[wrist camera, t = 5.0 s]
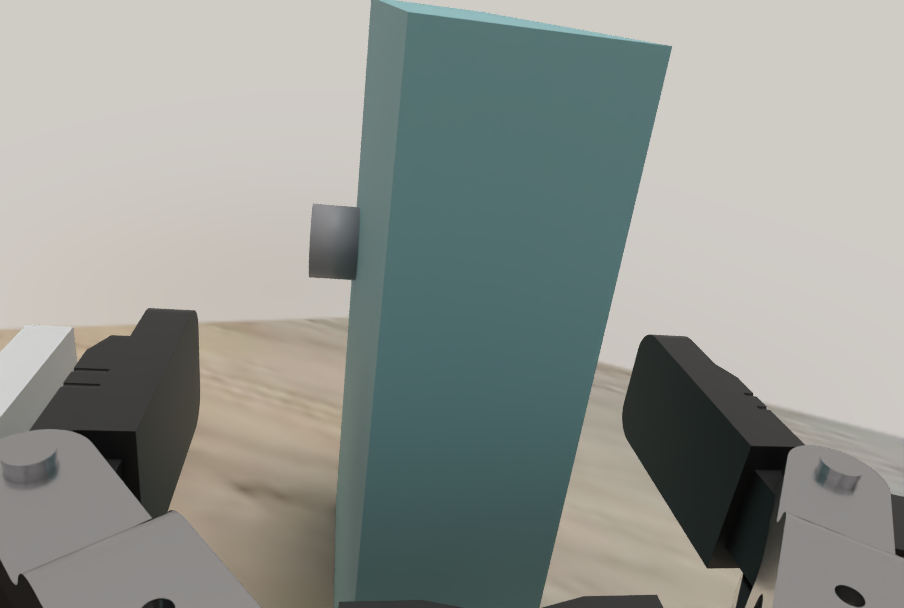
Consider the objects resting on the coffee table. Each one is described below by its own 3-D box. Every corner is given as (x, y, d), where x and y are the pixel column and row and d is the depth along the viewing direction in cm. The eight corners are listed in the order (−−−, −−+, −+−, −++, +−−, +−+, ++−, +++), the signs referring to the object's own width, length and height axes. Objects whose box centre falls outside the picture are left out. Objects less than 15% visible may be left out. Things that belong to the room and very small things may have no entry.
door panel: (418, 505, 21) (482, 11, 15) (472, 891, 12) (671, 47, 6) (301, 504, 20) (325, -10, 15) (266, 910, 11) (291, -4, 6)
